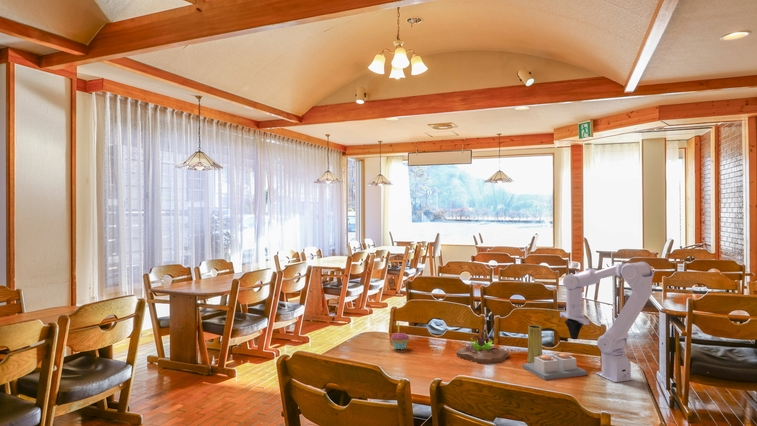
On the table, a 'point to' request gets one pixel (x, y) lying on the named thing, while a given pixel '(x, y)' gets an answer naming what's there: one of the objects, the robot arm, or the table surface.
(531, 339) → the vase
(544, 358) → the knob
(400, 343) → the cupcake
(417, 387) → the table surface
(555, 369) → the panel
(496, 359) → the plant
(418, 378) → the table surface
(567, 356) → the knob
